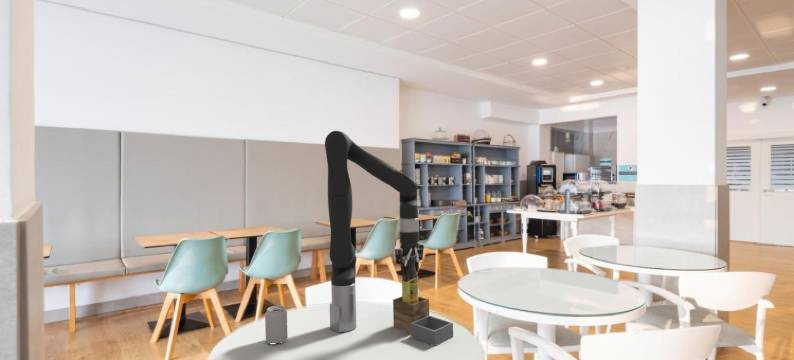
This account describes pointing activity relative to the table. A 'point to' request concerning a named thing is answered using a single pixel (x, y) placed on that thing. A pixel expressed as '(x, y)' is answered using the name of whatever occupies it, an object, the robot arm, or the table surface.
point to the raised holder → (409, 312)
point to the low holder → (432, 330)
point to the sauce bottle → (410, 283)
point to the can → (276, 324)
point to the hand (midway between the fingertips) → (410, 273)
